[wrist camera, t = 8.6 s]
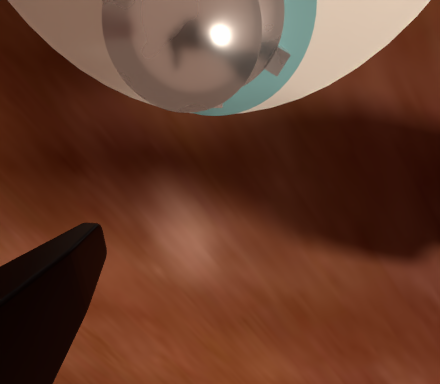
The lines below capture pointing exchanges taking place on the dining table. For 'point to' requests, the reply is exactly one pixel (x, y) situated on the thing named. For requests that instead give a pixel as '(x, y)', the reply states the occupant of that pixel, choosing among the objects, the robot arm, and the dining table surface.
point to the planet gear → (193, 48)
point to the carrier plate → (265, 82)
